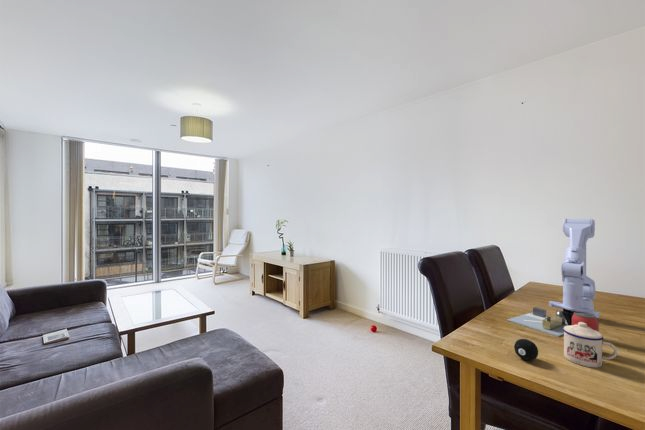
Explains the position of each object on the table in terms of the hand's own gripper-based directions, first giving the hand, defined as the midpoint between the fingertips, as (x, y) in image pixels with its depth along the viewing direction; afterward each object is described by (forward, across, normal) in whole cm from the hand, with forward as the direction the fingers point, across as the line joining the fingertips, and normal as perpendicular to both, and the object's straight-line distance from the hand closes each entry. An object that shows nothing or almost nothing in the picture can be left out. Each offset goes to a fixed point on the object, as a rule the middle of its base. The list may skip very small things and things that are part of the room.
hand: (572, 330), depth 106 cm
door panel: (+1, -10, +2) cm, 11 cm away
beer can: (+2, +8, -12) cm, 14 cm away
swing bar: (0, -6, 0) cm, 6 cm away
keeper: (+1, -15, +10) cm, 19 cm away
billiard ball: (+2, +2, -36) cm, 36 cm away
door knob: (+1, -6, +7) cm, 10 cm away
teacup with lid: (+2, +12, -21) cm, 24 cm away
